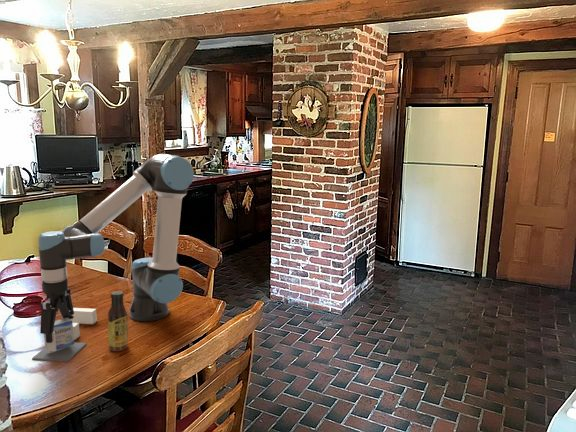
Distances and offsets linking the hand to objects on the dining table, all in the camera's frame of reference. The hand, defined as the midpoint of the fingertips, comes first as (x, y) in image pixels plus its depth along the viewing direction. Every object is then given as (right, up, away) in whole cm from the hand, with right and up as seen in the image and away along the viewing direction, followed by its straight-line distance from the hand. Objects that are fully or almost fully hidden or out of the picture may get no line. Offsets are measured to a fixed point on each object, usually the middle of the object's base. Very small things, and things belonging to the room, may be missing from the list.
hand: (59, 343), depth 157 cm
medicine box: (0, -1, 0) cm, 1 cm away
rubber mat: (0, -3, +1) cm, 3 cm away
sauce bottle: (+18, -3, +4) cm, 19 cm away
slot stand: (-3, +1, +17) cm, 18 cm away
